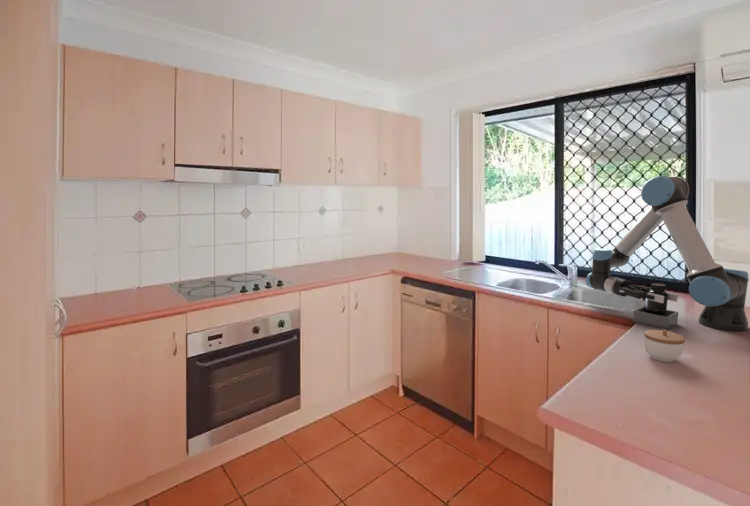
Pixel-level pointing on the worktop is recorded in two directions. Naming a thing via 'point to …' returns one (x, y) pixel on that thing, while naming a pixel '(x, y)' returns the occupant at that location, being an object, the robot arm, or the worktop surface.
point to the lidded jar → (663, 344)
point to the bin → (655, 318)
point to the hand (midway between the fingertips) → (670, 298)
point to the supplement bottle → (655, 306)
